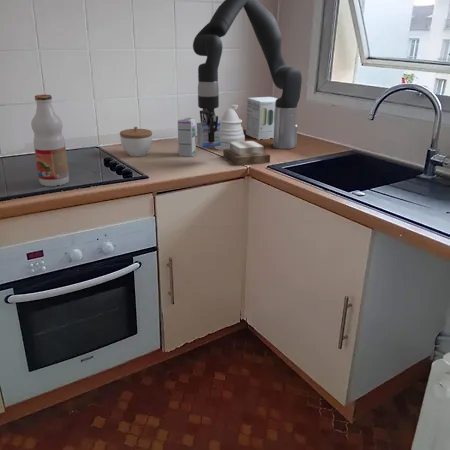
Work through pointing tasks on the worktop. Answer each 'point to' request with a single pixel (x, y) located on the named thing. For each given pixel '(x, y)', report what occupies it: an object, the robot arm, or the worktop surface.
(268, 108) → the supplement box
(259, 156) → the plinth
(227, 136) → the honey pot
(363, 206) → the worktop surface
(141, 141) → the lidded bowl
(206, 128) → the medicine box
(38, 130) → the fruit juice
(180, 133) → the syrup box
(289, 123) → the robot arm
